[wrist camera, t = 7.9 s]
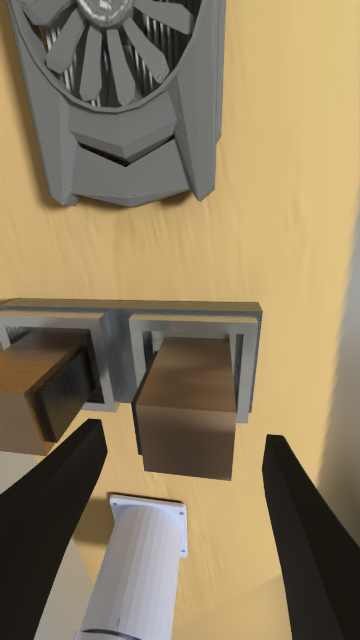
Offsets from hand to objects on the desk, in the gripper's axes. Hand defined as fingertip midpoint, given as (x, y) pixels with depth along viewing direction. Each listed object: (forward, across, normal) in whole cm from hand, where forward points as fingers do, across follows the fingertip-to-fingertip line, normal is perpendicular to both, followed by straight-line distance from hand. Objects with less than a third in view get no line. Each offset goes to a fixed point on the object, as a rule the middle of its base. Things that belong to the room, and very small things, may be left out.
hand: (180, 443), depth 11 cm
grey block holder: (+8, +4, 0) cm, 9 cm away
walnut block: (+6, 0, 0) cm, 6 cm away
